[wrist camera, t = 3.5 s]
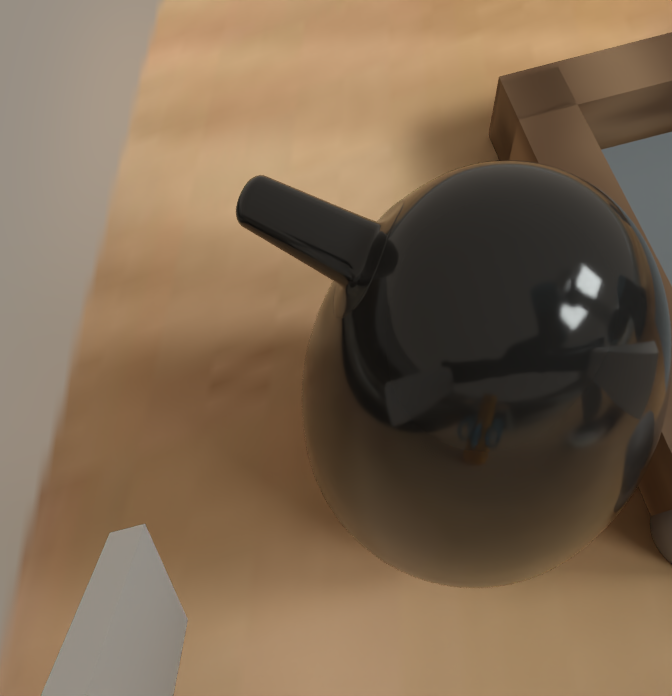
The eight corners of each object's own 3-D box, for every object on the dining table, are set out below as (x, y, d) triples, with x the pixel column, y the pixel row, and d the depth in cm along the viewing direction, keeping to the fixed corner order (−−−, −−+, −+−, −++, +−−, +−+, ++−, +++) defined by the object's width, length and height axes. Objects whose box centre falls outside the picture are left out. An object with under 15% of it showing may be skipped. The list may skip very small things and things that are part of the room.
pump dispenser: (371, 299, 26) (329, -41, 12) (615, 373, 23) (923, 55, 9) (278, 522, 23) (71, 416, 9) (549, 636, 20) (868, 742, 6)
